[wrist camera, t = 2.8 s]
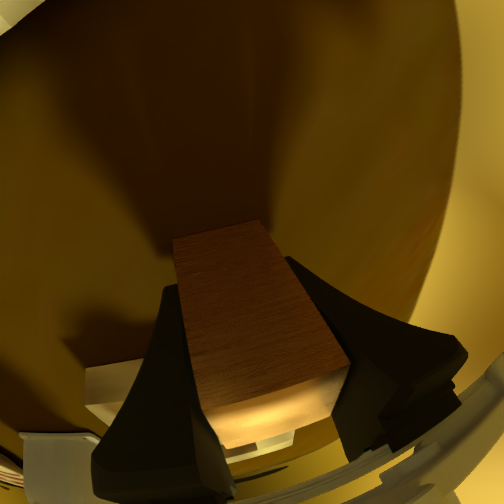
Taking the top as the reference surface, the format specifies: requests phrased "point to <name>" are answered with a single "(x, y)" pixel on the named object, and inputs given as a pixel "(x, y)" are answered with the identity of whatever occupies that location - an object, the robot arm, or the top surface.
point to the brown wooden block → (254, 336)
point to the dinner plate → (10, 471)
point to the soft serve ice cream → (15, 12)
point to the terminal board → (118, 386)
